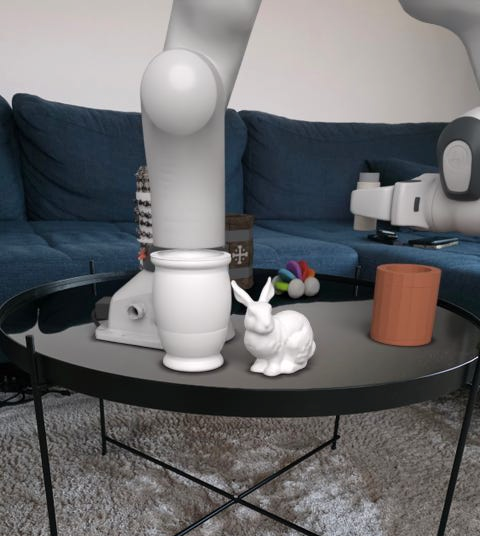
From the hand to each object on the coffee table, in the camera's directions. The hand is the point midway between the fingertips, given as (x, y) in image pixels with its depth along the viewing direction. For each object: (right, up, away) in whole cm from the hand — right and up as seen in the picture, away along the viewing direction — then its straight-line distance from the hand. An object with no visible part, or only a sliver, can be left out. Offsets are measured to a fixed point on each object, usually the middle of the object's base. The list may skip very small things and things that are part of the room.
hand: (363, 198), depth 106 cm
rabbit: (-18, -33, -25) cm, 45 cm away
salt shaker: (+1, -5, +2) cm, 5 cm away
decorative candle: (-38, -16, +14) cm, 43 cm away
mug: (-29, -9, +29) cm, 41 cm away
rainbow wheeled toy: (-10, -13, +20) cm, 26 cm away
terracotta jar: (+4, -26, -10) cm, 28 cm away
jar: (-29, -32, -23) cm, 49 cm away
